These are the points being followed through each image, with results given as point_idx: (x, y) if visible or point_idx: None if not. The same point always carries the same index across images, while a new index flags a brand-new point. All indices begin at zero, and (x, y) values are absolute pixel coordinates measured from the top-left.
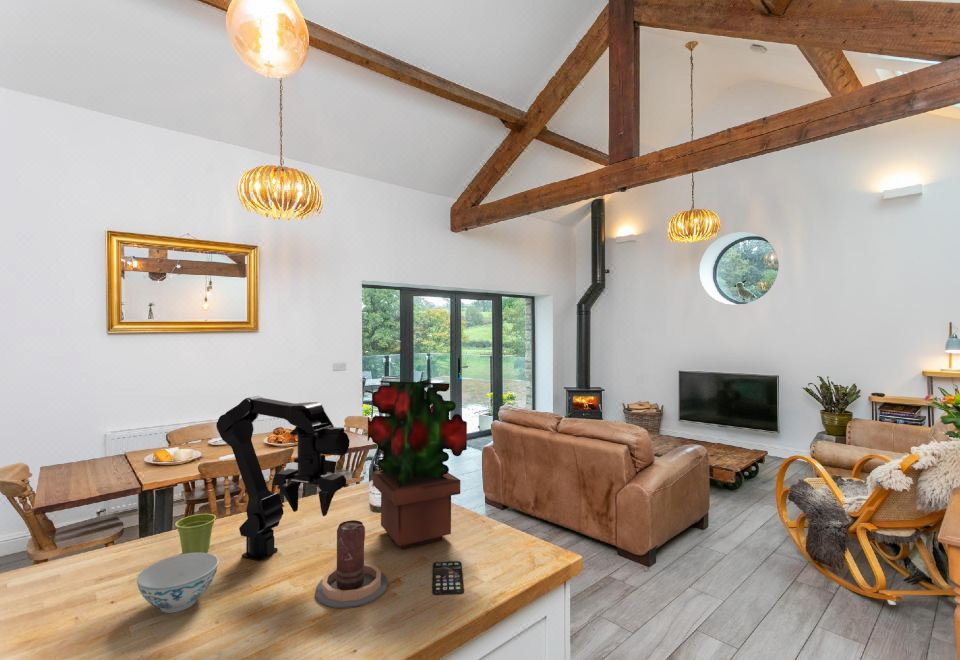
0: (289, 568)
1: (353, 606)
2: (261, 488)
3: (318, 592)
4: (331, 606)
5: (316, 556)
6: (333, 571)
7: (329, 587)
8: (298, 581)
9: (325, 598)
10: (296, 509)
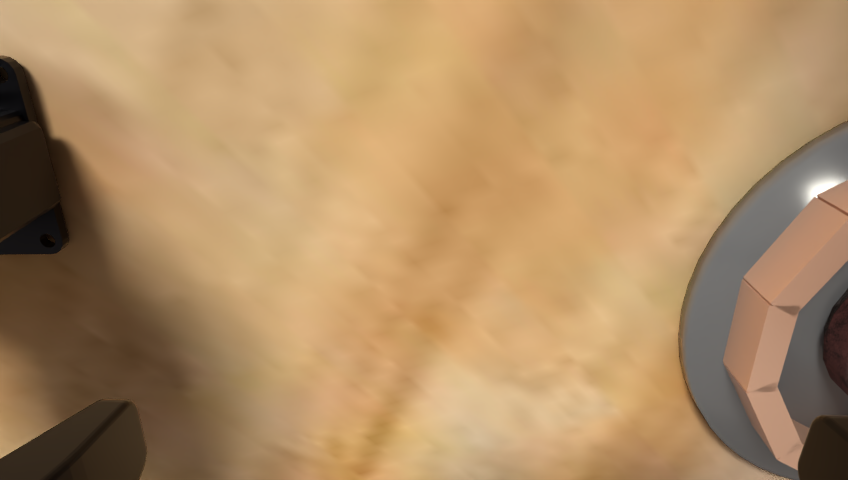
0: (347, 249)
1: None
2: None
3: (736, 436)
4: None
5: (406, 24)
6: (786, 332)
7: None
8: (520, 349)
9: None
10: (126, 443)
